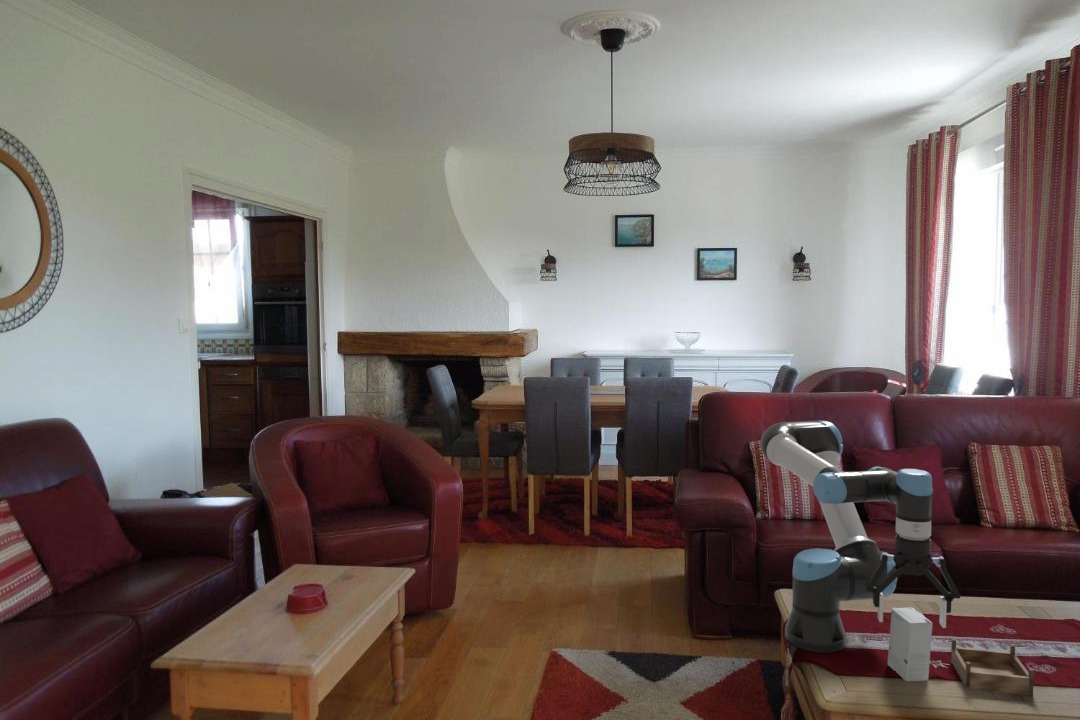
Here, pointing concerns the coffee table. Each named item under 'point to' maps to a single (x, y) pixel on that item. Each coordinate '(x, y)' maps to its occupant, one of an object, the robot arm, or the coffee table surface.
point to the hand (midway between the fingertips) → (911, 622)
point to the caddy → (992, 670)
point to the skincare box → (910, 644)
